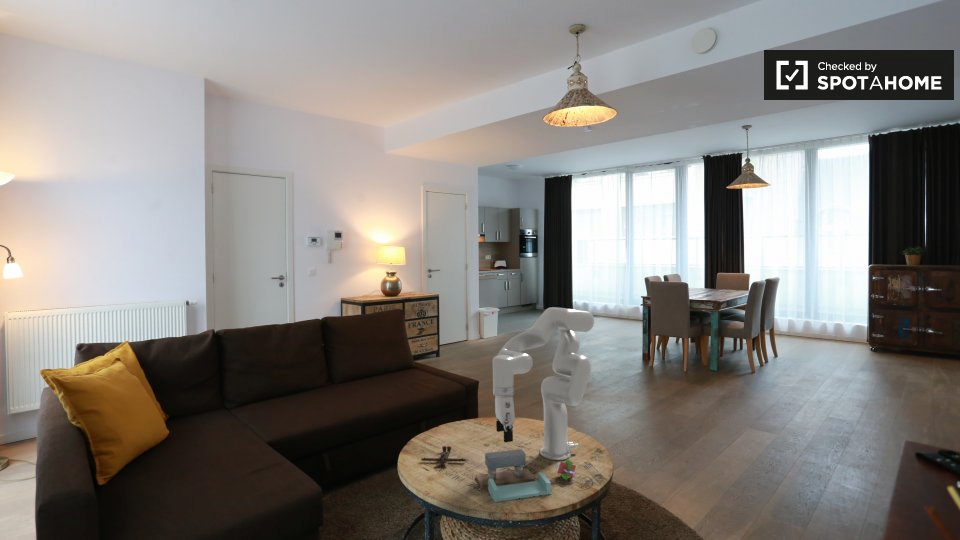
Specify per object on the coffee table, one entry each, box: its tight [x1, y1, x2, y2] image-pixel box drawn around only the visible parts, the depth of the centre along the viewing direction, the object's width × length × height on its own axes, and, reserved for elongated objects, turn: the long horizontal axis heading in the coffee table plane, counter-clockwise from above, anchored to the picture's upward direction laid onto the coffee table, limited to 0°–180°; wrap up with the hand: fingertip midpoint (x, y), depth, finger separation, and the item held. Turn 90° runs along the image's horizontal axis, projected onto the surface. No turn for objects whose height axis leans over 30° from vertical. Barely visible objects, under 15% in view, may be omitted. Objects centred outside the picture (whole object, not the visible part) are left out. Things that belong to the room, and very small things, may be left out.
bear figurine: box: [420, 445, 467, 468], centre depth 188 cm, size 18×4×14 cm
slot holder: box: [487, 471, 552, 503], centre depth 162 cm, size 20×8×4 cm, turn 103°
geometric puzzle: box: [555, 458, 577, 482], centre depth 172 cm, size 7×7×8 cm
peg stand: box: [475, 465, 536, 489], centre depth 172 cm, size 20×8×6 cm, turn 103°
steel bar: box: [484, 448, 527, 470], centre depth 171 cm, size 14×4×4 cm, turn 104°
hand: (504, 436), depth 171 cm, fingers open, 9 cm apart
